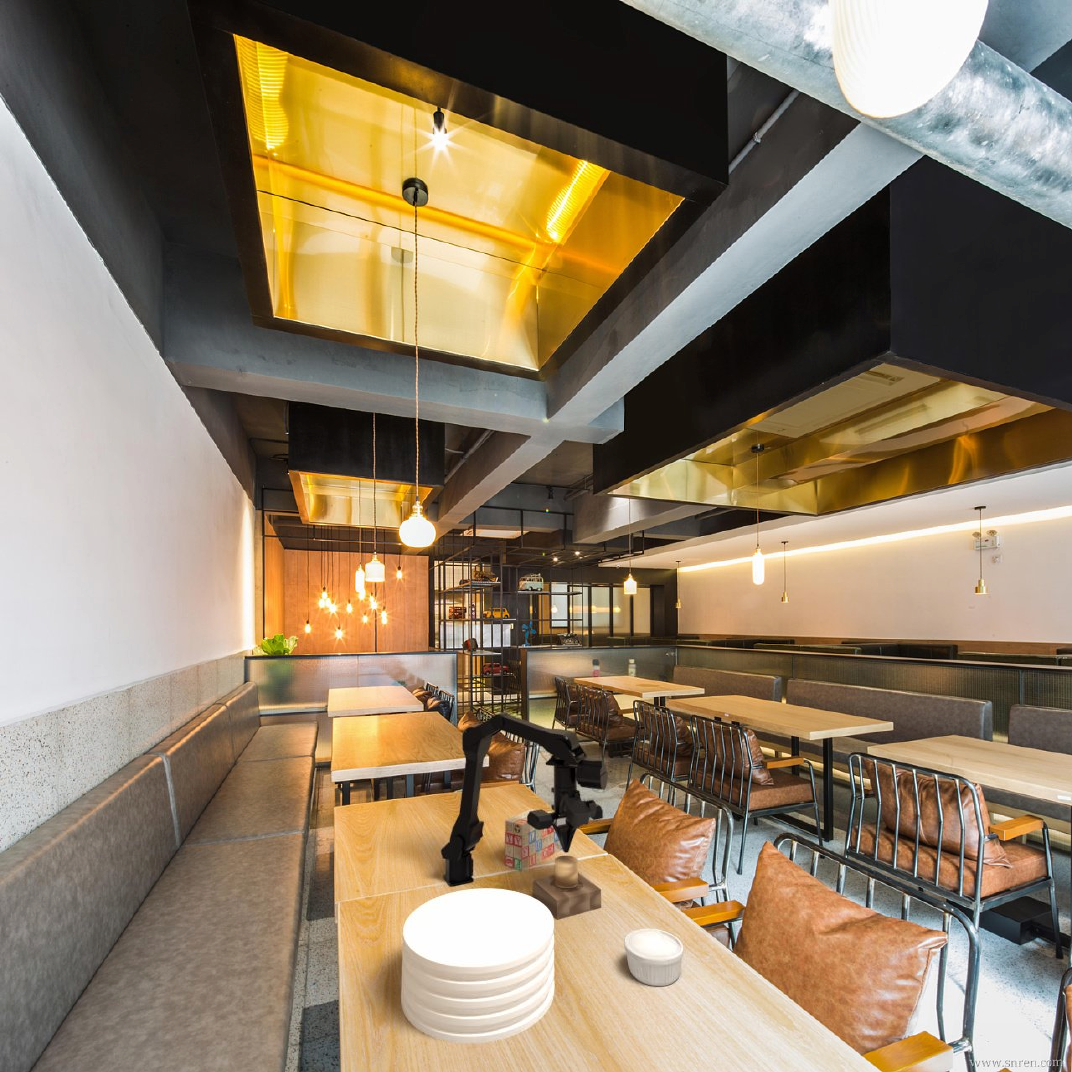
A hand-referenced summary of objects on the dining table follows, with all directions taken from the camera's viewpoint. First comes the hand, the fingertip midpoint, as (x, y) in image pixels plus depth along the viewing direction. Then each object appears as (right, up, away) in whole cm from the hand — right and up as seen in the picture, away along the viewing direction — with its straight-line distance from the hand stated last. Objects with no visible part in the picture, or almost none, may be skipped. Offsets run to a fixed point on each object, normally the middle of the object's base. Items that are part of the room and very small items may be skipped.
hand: (565, 852), depth 141 cm
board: (0, -11, -2) cm, 11 cm away
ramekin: (+16, -7, -30) cm, 34 cm away
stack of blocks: (-7, -16, +26) cm, 31 cm away
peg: (0, -11, -2) cm, 11 cm away
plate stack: (-18, -7, -34) cm, 39 cm away
